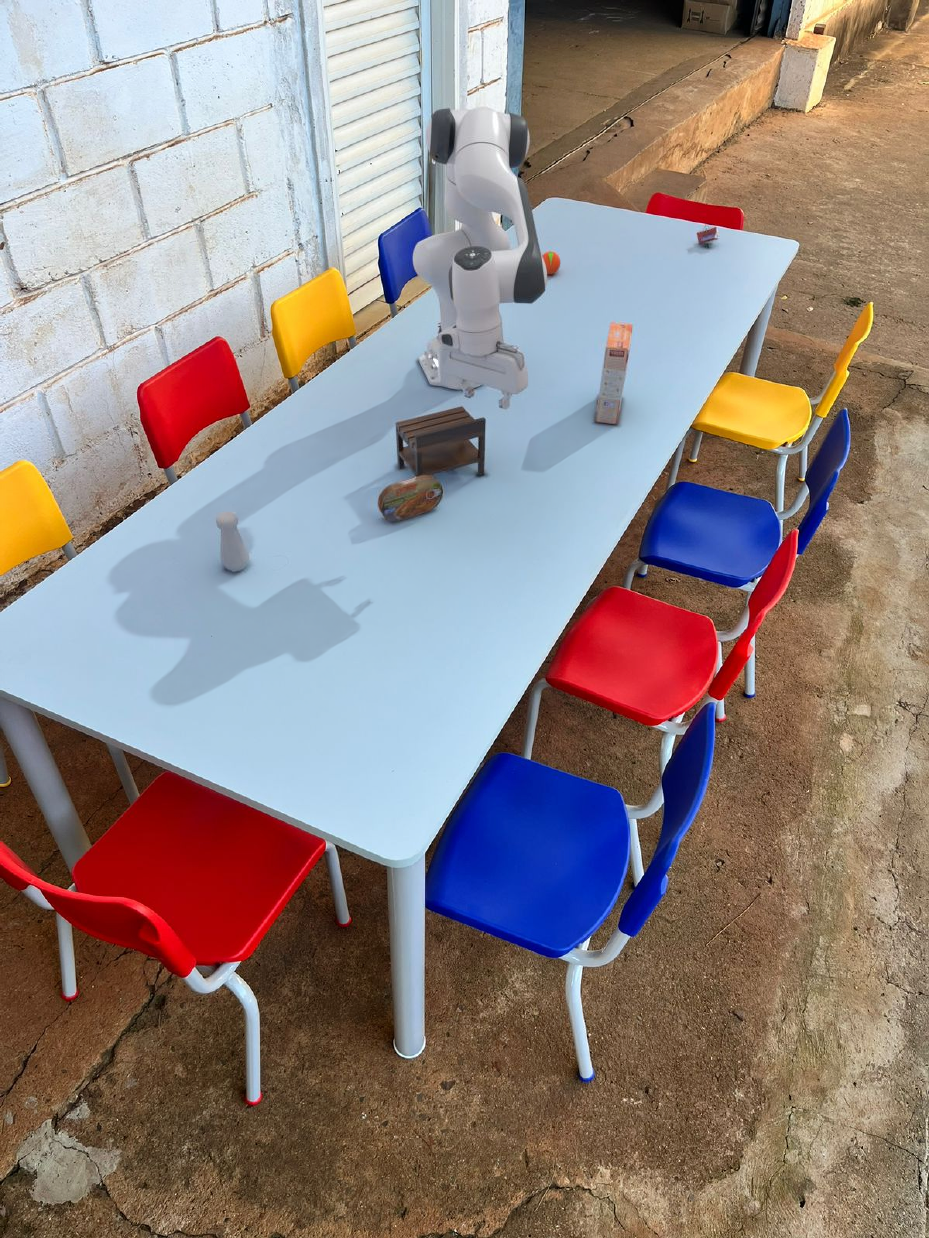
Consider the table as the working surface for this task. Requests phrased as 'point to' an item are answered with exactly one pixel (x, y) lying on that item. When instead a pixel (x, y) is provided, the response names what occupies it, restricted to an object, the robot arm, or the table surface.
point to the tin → (410, 497)
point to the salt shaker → (231, 542)
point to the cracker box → (614, 372)
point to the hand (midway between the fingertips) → (486, 402)
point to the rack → (441, 442)
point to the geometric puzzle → (708, 235)
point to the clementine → (551, 262)
